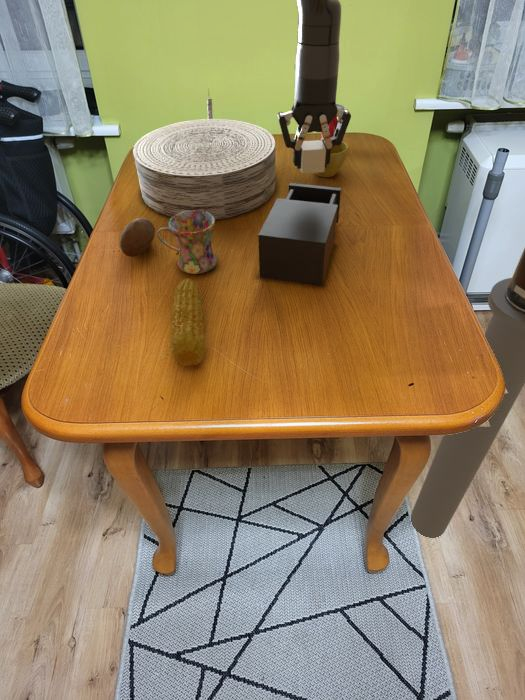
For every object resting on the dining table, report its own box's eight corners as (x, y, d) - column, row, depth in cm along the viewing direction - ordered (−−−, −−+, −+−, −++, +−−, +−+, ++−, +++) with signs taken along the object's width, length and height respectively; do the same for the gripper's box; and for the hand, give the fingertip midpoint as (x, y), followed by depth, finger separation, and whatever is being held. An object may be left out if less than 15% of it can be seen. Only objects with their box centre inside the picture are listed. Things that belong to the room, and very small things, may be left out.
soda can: (342, 155, 136) (346, 110, 128) (320, 155, 137) (323, 110, 128) (341, 146, 141) (345, 102, 132) (319, 146, 141) (322, 102, 133)
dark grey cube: (277, 238, 106) (277, 198, 99) (334, 246, 103) (338, 204, 96) (259, 277, 96) (258, 234, 89) (322, 286, 93) (325, 243, 86)
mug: (220, 252, 102) (215, 208, 95) (218, 277, 96) (213, 232, 89) (166, 254, 102) (158, 210, 95) (161, 279, 96) (151, 234, 89)
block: (320, 162, 98) (321, 140, 95) (324, 172, 95) (326, 149, 91) (298, 163, 98) (299, 141, 94) (301, 173, 94) (302, 150, 91)
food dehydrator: (273, 220, 111) (273, 143, 99) (127, 220, 113) (109, 144, 101) (277, 153, 138) (276, 85, 126) (159, 153, 140) (147, 87, 128)
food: (209, 369, 78) (205, 343, 74) (174, 374, 78) (168, 347, 73) (201, 291, 93) (197, 265, 89) (172, 294, 92) (167, 268, 88)
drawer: (293, 206, 114) (293, 174, 109) (341, 211, 112) (344, 179, 106) (275, 246, 102) (274, 212, 97) (328, 253, 100) (331, 219, 94)
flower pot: (309, 163, 133) (310, 137, 128) (346, 166, 131) (349, 139, 126) (304, 180, 126) (305, 152, 121) (343, 182, 124) (346, 155, 119)
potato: (162, 236, 108) (157, 207, 103) (149, 266, 99) (143, 236, 94) (133, 235, 108) (126, 207, 103) (117, 265, 100) (109, 235, 95)
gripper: (278, 79, 81) (277, 177, 93) (361, 75, 82) (350, 173, 94) (273, 66, 86) (273, 160, 98) (352, 63, 87) (342, 157, 99)
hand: (311, 166), depth 96 cm, fingers closed on block, 4 cm apart
